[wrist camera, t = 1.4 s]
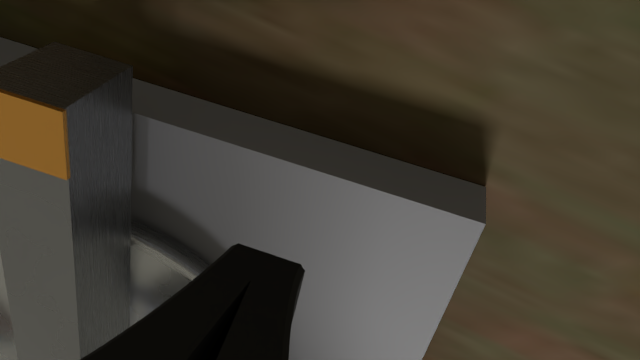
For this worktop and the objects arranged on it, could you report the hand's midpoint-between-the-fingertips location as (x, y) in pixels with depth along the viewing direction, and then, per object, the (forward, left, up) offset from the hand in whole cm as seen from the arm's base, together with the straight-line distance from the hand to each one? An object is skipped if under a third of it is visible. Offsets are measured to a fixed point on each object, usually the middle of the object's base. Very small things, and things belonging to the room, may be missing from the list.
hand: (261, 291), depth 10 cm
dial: (-7, +6, -5) cm, 10 cm away
